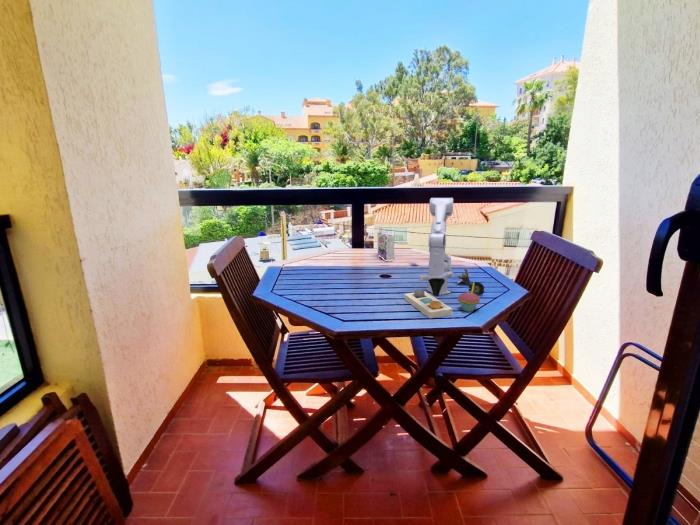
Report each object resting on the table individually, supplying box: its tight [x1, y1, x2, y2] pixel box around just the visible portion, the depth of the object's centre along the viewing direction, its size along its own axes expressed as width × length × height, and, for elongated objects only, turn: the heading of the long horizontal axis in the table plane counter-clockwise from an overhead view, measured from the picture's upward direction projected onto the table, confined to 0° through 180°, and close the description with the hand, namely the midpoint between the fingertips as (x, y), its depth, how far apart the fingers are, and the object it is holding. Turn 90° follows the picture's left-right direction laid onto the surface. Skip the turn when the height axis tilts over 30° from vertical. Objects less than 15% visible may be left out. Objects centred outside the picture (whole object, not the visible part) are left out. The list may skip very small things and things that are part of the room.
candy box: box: [377, 230, 395, 260], centre depth 242 cm, size 14×6×16 cm, turn 17°
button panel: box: [403, 290, 453, 319], centre depth 165 cm, size 23×10×2 cm, turn 18°
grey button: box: [413, 289, 425, 298], centre depth 171 cm, size 4×4×3 cm
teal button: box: [422, 298, 432, 304], centre depth 165 cm, size 4×4×3 cm
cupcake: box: [457, 281, 480, 312], centre depth 160 cm, size 9×8×12 cm
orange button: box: [430, 300, 442, 310], centre depth 159 cm, size 4×4×3 cm
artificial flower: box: [454, 268, 485, 297], centre depth 186 cm, size 9×22×10 cm, turn 176°
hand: (435, 295), depth 157 cm, fingers closed
